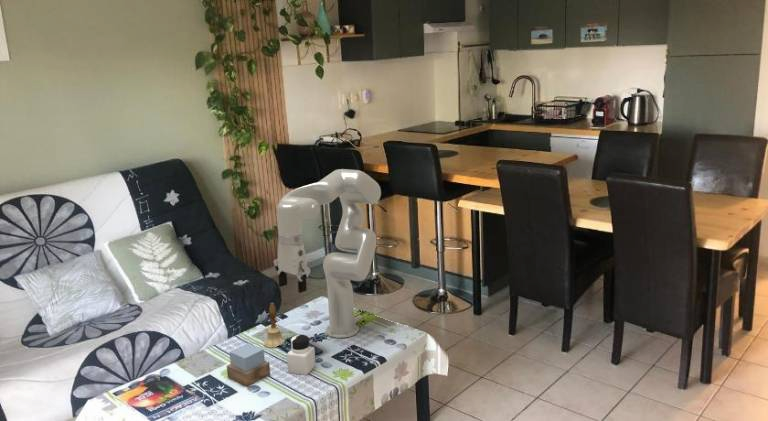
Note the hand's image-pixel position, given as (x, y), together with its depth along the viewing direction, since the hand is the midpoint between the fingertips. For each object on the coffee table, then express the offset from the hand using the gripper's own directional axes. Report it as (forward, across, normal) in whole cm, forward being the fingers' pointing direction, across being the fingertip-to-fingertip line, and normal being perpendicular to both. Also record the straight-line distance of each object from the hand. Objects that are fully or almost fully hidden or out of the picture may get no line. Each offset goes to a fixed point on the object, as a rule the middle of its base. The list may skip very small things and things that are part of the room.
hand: (292, 288), depth 220 cm
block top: (+24, +8, +14) cm, 30 cm away
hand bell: (+28, +21, -8) cm, 36 cm away
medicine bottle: (+29, -2, 0) cm, 29 cm away
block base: (+30, +8, +14) cm, 34 cm away
